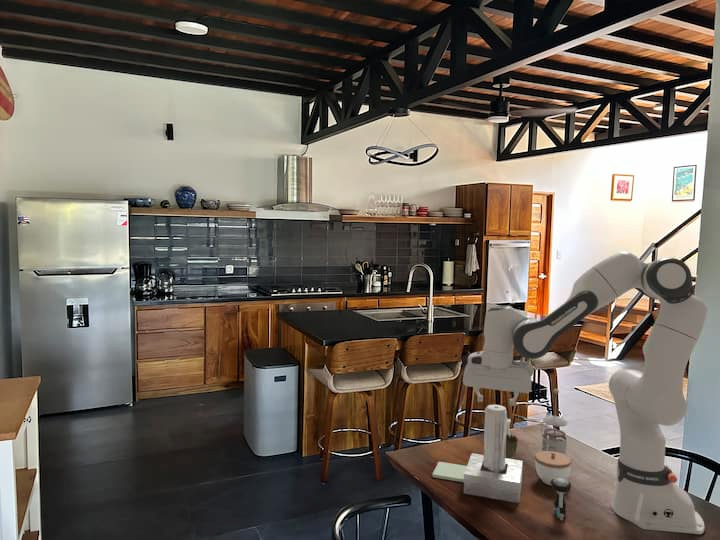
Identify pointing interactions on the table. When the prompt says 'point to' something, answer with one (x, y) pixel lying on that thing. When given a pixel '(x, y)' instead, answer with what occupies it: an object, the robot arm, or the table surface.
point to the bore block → (493, 480)
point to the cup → (510, 446)
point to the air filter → (495, 439)
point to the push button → (560, 495)
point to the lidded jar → (552, 465)
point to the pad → (449, 471)
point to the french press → (554, 433)
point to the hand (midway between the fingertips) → (495, 403)
